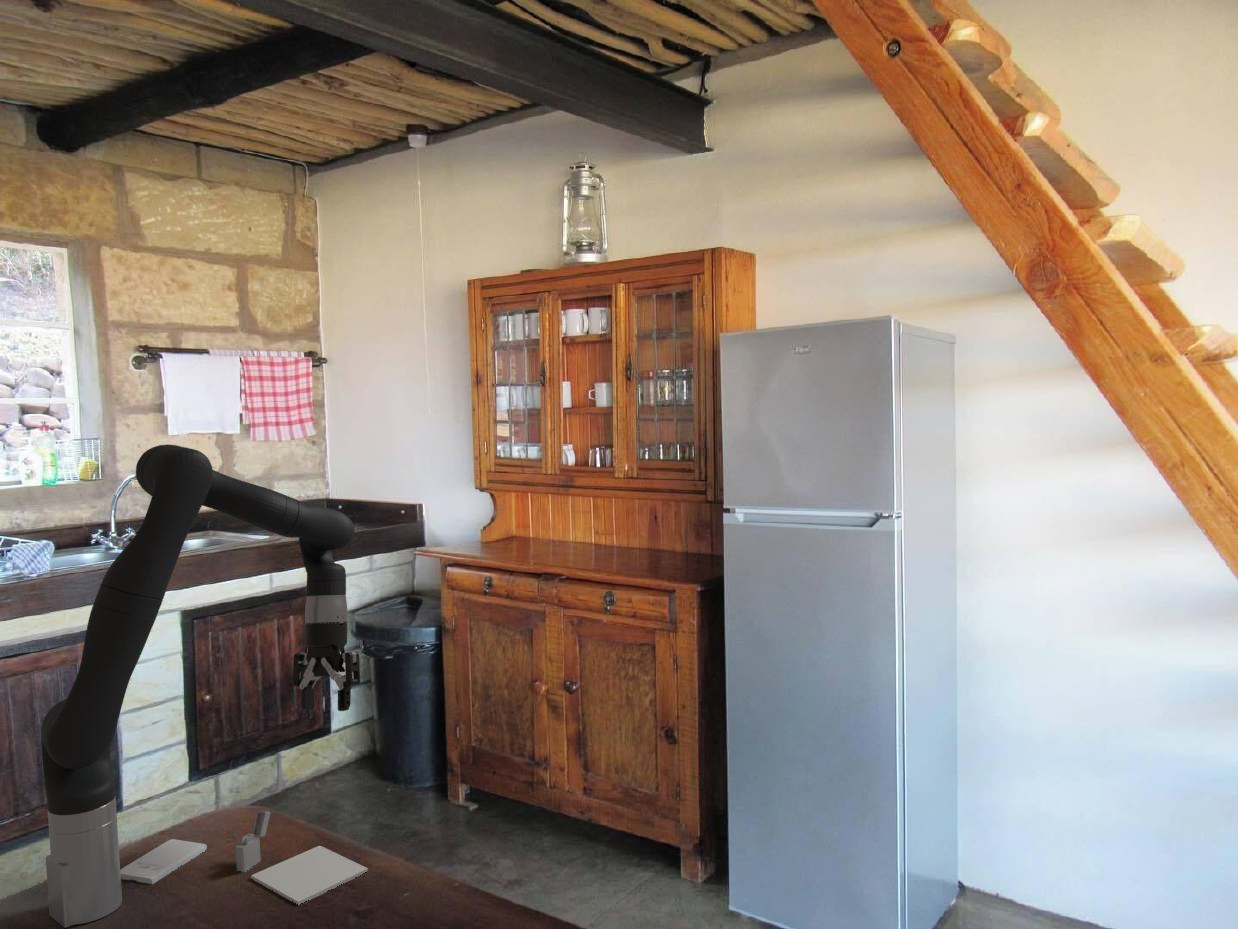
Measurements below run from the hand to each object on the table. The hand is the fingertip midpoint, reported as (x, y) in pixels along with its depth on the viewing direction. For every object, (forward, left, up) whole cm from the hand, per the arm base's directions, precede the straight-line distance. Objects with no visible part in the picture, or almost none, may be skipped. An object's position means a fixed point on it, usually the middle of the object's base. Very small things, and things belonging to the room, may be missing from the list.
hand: (325, 710), depth 170 cm
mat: (-12, -11, -23) cm, 28 cm away
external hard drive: (-25, +14, -23) cm, 37 cm away
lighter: (-15, +1, -23) cm, 27 cm away
